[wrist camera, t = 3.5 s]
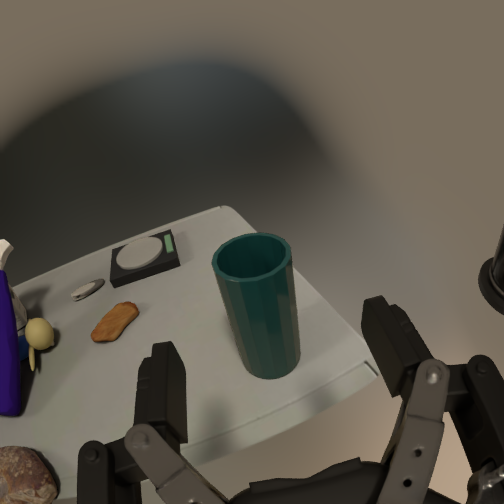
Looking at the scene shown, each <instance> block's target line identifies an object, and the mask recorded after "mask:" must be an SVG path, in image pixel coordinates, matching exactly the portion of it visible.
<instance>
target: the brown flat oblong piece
mask: <svg viewBox="0 0 504 504" xmlns="http://www.w3.org/2000/svg"><path fill="white" fill-rule="evenodd" d="M138 313H139V311H138V308H137V306H136V305H135V304H134V303H131V302H124V303H119V304H117V305H116V306H115V307H114V308H113V309H112V310H111V311H109V312H108V313H107V314H106V315H105V316H104V317H103V318H102V320H101V321H100V322H99V323H98V324H97V326H96V328H95V329H94V330H93V331H92V333H91V338H92V340H93V341H94V342H100V341H114V340H115V339H116V338H117V337H118V336H119V335H120V333H121V332H122V331H123V329H124V328H125V327H126V325H127V324H129V323H130V322H131V321H132V320H133V319H135V318H136V316H137V315H138Z"/></svg>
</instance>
